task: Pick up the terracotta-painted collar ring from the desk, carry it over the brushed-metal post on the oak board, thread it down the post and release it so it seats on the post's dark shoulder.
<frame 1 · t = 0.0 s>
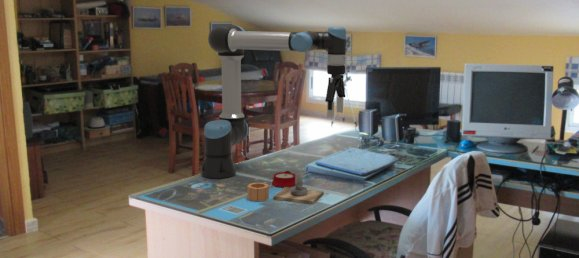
hand: (335, 114, 245), 28 cm above the table, fingers open, 13 cm apart
post board: (298, 196, 225), on the table
ring: (258, 198, 223), on the table
alarm clock: (287, 184, 243), on the table
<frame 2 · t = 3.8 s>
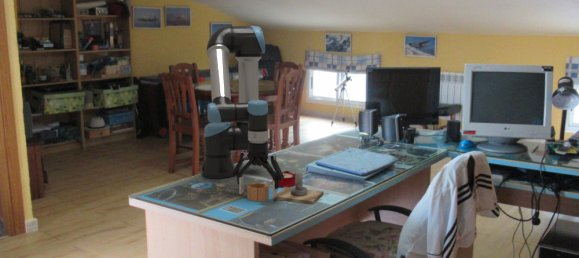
hand: (258, 195, 222), 1 cm above the table, fingers open, 13 cm apart
nothing on the table moved.
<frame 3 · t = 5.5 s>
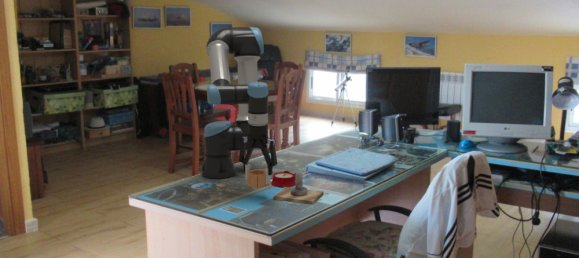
hand: (257, 181, 222), 6 cm above the table, fingers closed on ring, 8 cm apart
ring: (258, 184, 223), point 5 cm above the table, touching gripper
everything else where it was.
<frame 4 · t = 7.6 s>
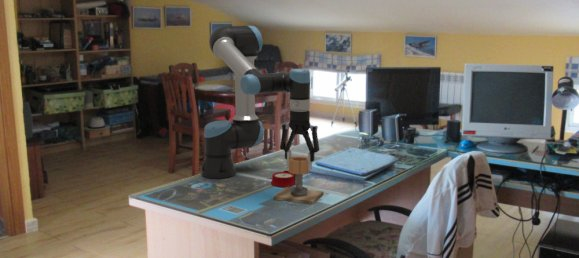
hand: (299, 168, 222), 11 cm above the table, fingers closed on ring, 8 cm apart
ring: (299, 171, 222), point 10 cm above the table, touching gripper
everything else where it was.
when the fingers open (3 cm above the table, at t = 9.5 s): ring stays where it is, resting on post board.
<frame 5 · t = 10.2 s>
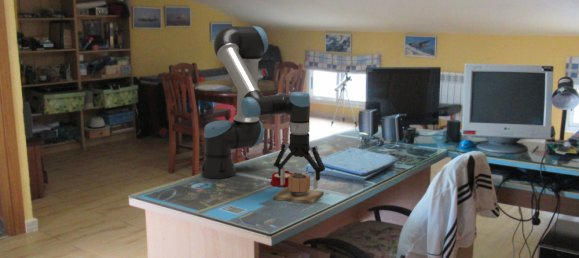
hand: (298, 186, 224), 4 cm above the table, fingers open, 13 cm apart
ring: (299, 188, 224), point 3 cm above the table, touching post board
everything else where it was.
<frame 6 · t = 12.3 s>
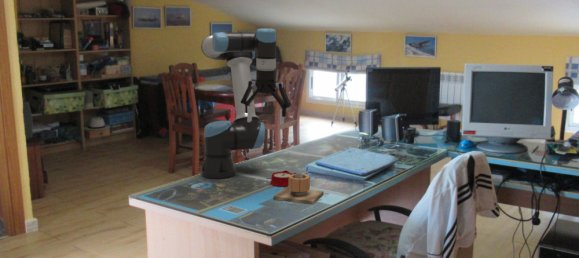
hand: (265, 123, 227), 28 cm above the table, fingers open, 13 cm apart
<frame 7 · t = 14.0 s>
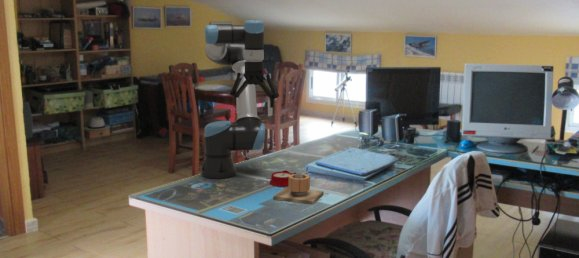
hand: (254, 114, 228), 31 cm above the table, fingers open, 13 cm apart
at the end: ring 0.1 cm off-centre on the post board, point 3.2 cm above the post board's base; ring tilted 0°; the gripper is holding nothing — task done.
